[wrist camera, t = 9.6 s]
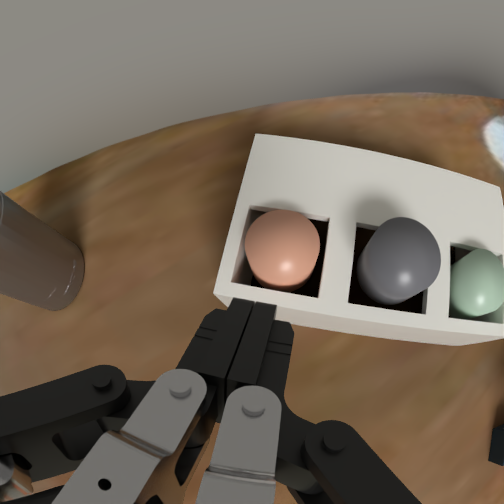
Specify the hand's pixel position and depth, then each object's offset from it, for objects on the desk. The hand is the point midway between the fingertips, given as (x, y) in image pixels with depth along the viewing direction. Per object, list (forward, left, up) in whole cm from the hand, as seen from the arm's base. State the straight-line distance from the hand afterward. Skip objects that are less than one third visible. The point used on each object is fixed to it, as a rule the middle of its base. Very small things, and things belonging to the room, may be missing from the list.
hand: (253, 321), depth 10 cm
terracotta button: (0, +6, -12) cm, 14 cm away
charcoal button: (+8, +6, -10) cm, 14 cm away
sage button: (+16, +6, -12) cm, 21 cm away
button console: (+8, +9, -18) cm, 22 cm away
